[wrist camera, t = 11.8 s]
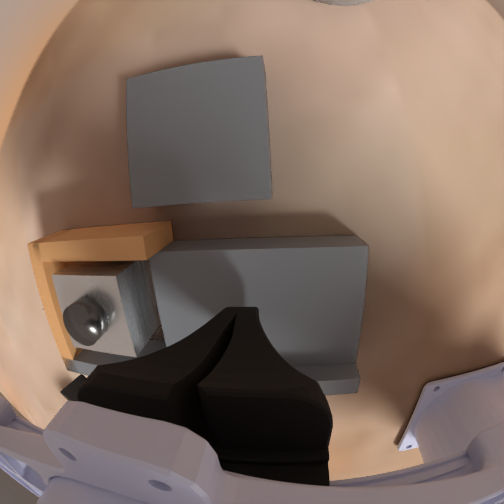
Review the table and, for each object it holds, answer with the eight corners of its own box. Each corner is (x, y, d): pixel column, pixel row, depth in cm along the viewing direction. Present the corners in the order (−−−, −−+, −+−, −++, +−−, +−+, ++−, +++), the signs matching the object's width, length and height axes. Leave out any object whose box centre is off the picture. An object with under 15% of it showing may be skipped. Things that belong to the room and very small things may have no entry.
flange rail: (357, 214, 13) (378, 228, 10) (346, 355, 15) (357, 392, 12) (62, 229, 15) (27, 243, 12) (91, 344, 17) (67, 370, 14)
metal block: (154, 248, 15) (103, 285, 10) (165, 317, 16) (127, 369, 11) (94, 251, 15) (38, 282, 10) (108, 313, 16) (63, 356, 11)
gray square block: (265, 70, 11) (262, 55, 10) (272, 194, 13) (271, 199, 11) (145, 88, 12) (126, 79, 10) (151, 202, 14) (132, 208, 12)
